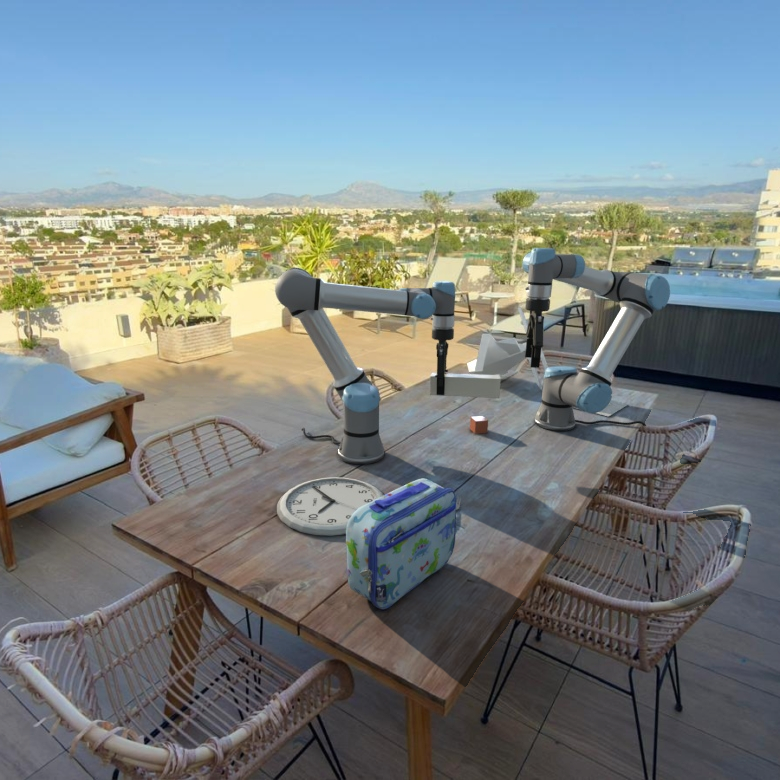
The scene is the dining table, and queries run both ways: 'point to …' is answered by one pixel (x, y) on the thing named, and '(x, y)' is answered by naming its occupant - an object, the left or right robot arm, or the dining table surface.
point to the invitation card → (611, 408)
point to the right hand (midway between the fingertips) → (531, 362)
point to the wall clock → (324, 504)
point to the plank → (468, 385)
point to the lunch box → (400, 540)
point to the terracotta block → (478, 424)
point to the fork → (458, 504)
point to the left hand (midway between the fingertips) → (441, 392)
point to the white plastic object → (502, 355)
